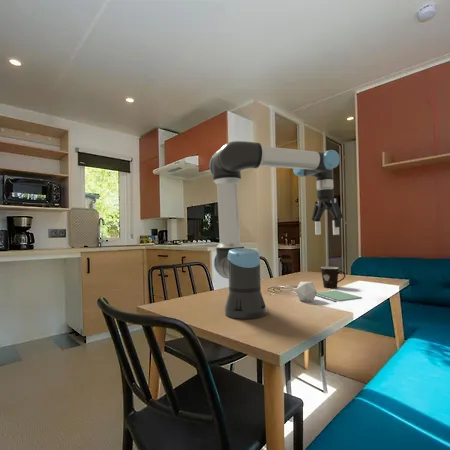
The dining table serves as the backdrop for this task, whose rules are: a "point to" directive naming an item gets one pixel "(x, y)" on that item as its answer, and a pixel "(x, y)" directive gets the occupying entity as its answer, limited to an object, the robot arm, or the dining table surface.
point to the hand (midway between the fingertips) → (326, 234)
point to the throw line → (326, 298)
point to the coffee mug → (330, 276)
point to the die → (306, 291)
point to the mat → (338, 295)
